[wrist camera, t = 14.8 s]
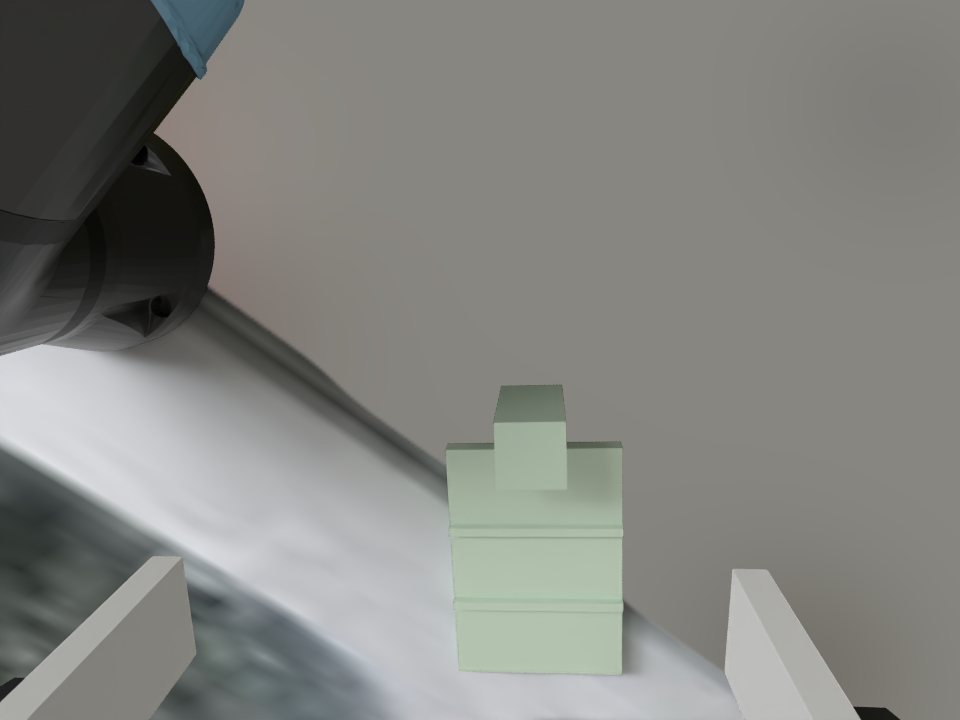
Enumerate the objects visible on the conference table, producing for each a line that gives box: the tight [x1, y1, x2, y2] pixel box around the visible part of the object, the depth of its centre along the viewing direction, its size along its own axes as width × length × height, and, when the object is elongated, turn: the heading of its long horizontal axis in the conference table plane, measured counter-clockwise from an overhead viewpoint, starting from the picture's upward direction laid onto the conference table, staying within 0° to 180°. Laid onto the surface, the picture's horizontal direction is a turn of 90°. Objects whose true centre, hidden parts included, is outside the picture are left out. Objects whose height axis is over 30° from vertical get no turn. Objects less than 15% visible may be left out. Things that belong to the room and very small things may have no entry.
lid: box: [445, 385, 624, 675], centre depth 43 cm, size 12×21×8 cm, turn 3°
